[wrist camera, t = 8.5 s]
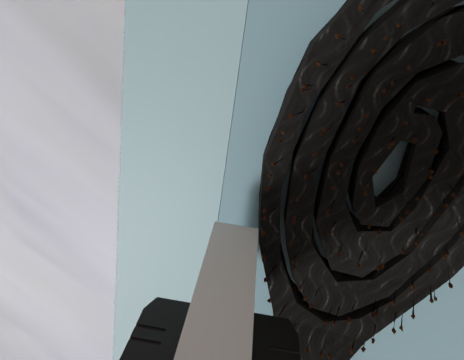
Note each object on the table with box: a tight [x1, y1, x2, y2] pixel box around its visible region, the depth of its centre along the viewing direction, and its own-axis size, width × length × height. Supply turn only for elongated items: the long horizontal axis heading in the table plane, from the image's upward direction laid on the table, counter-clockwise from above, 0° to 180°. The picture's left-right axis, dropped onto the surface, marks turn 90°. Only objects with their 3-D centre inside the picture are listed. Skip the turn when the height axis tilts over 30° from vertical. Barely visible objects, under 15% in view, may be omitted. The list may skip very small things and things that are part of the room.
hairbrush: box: [258, 0, 464, 360], centre depth 13 cm, size 8×4×25 cm
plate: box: [113, 0, 464, 360], centre depth 16 cm, size 26×20×1 cm
